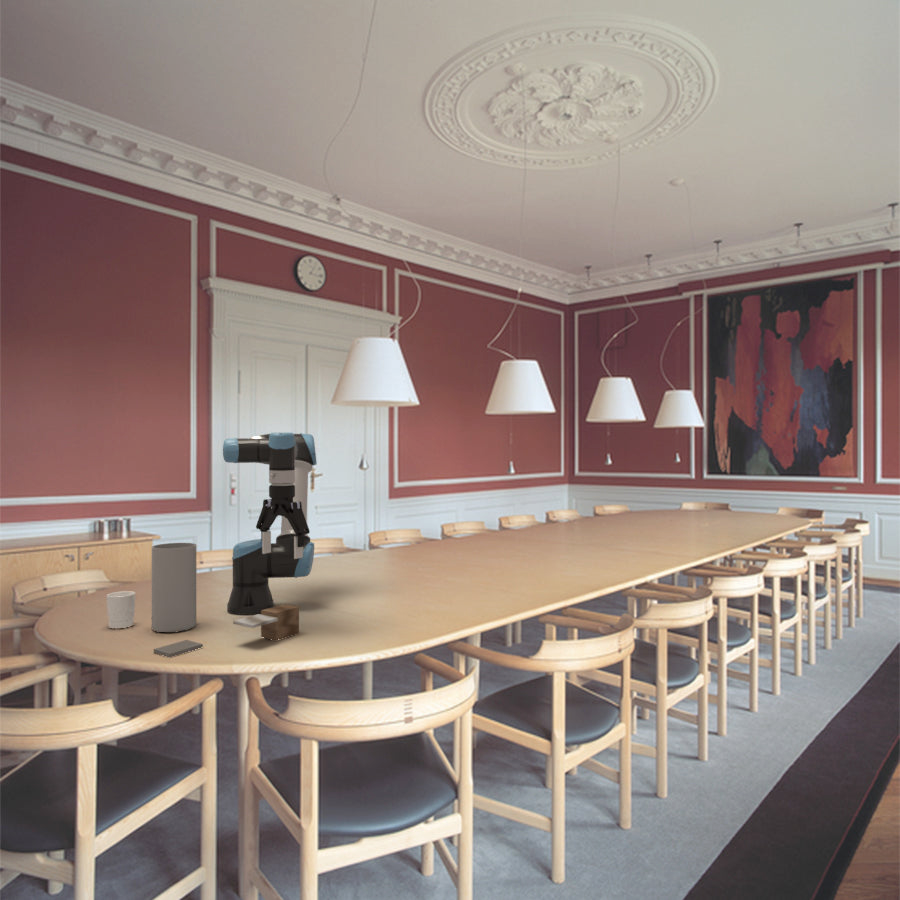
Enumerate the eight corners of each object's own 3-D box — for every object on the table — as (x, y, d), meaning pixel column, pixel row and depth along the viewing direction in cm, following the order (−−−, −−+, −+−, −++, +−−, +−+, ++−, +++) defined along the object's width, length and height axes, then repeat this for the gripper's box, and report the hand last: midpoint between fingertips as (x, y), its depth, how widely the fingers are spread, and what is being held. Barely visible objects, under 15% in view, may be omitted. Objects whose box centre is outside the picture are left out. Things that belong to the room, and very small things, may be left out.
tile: (186, 645, 182) (153, 655, 174) (186, 639, 182) (153, 649, 174) (202, 649, 179) (169, 659, 170) (202, 643, 179) (169, 653, 170)
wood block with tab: (282, 630, 196) (282, 603, 196) (301, 634, 192) (301, 607, 192) (233, 645, 181) (233, 616, 181) (252, 650, 177) (252, 620, 177)
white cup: (141, 623, 203) (141, 591, 203) (123, 630, 195) (123, 597, 195) (119, 622, 205) (119, 590, 205) (100, 629, 197) (100, 596, 197)
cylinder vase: (165, 621, 205) (165, 542, 205) (203, 623, 204) (203, 543, 204) (143, 633, 193) (143, 548, 193) (183, 634, 192) (183, 549, 192)
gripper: (243, 483, 198) (244, 552, 198) (302, 487, 184) (302, 562, 185) (263, 481, 204) (263, 549, 205) (321, 485, 190) (321, 558, 191)
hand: (282, 555), depth 195 cm, fingers open, 13 cm apart
